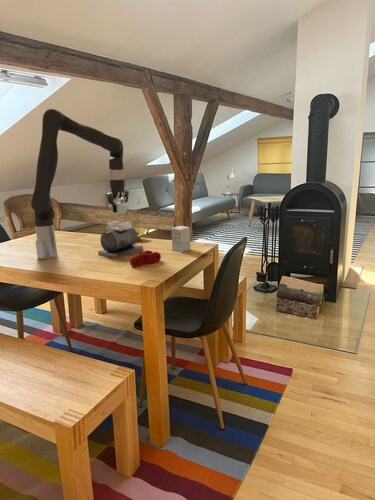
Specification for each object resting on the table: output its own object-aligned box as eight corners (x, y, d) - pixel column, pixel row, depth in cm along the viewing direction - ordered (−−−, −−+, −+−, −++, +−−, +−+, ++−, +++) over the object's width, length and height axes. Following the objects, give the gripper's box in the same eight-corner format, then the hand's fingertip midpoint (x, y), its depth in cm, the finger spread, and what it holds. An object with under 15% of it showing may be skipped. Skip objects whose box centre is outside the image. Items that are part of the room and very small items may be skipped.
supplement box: (181, 247, 216) (180, 225, 213) (191, 249, 211) (190, 227, 208) (171, 250, 211) (170, 227, 208) (181, 252, 206) (180, 229, 203)
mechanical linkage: (150, 259, 197) (150, 249, 195) (161, 261, 192) (160, 251, 191) (127, 266, 185) (126, 256, 184) (137, 269, 180) (136, 258, 179)
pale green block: (120, 213, 197) (120, 204, 196) (110, 212, 202) (109, 203, 200) (127, 212, 201) (127, 202, 200) (117, 211, 206) (116, 201, 204)
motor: (117, 258, 199) (114, 226, 195) (98, 254, 207) (95, 224, 203) (142, 249, 215) (141, 220, 211) (124, 246, 223) (122, 218, 219)
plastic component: (112, 240, 229) (111, 230, 236) (114, 249, 234) (112, 239, 241) (145, 235, 232) (143, 225, 240) (146, 244, 237) (144, 235, 244)
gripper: (121, 177, 205) (123, 209, 209) (101, 179, 194) (103, 213, 198) (132, 177, 201) (133, 210, 205) (111, 179, 189) (114, 214, 194)
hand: (119, 211), depth 201 cm, fingers closed on pale green block, 5 cm apart
